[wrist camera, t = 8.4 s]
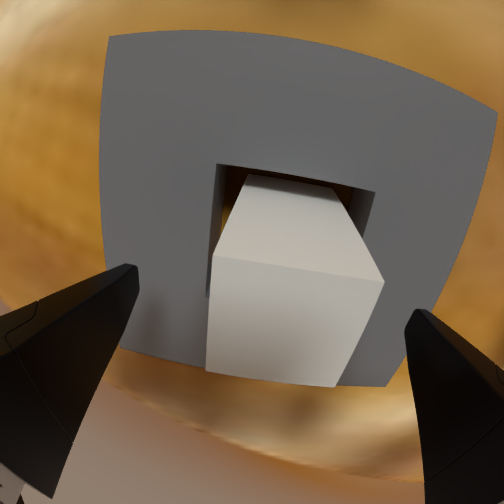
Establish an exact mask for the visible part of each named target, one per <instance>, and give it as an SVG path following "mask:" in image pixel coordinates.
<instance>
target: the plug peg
mask: <svg viewBox="0 0 504 504" xmlns="http://www.w3.org/2000/svg"><path fill="white" fill-rule="evenodd" d="M384 283H385V281H384V279H383V277H382V276H381V274H380V272H379V270H378V268H377V266H376V264H375V262H374V260H373V258H372V256H371V254H370V253H369V251H368V249H367V247H366V245H365V243H364V241H363V240H362V238H361V236H360V234H359V232H358V231H357V229H356V227H355V225H354V224H353V222H352V220H351V218H350V217H349V215H348V213H347V212H346V210H345V208H344V206H343V205H342V203H341V201H340V200H339V198H338V196H337V195H336V193H335V192H334V190H333V188H328V187H323V186H318V185H312V184H307V183H302V182H296V181H290V180H285V179H279V178H273V177H266V176H260V175H253V174H248V176H247V178H246V180H245V182H244V185H243V187H242V189H241V191H240V194H239V196H238V198H237V200H236V203H235V205H234V207H233V209H232V212H231V214H230V216H229V218H228V221H227V223H226V225H225V227H224V230H223V232H222V234H221V237H220V239H219V241H218V244H217V246H216V248H215V251H214V253H213V257H212V270H211V283H210V298H209V313H208V329H207V347H206V368H205V371H208V372H214V373H219V374H225V375H231V376H237V377H243V378H249V379H256V380H264V381H271V382H280V383H288V384H298V385H309V386H321V387H335V386H336V384H337V382H338V380H339V378H340V376H341V375H342V373H343V371H344V369H345V367H346V365H347V363H348V361H349V359H350V357H351V355H352V353H353V351H354V349H355V347H356V345H357V343H358V341H359V339H360V337H361V335H362V333H363V331H364V329H365V327H366V324H367V322H368V320H369V318H370V316H371V313H372V311H373V309H374V307H375V304H376V302H377V300H378V297H379V295H380V292H381V290H382V288H383V285H384Z"/></svg>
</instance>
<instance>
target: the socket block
mask: <svg viewBox="0 0 504 504" xmlns="http://www.w3.org/2000/svg"><path fill="white" fill-rule="evenodd" d="M497 115H498V112H496V111H494V110H493V109H491V108H489V107H488V106H486V105H484V104H482V103H480V102H479V101H477V100H475V99H473V98H471V97H469V96H467V95H465V94H463V93H461V92H459V91H457V90H455V89H453V88H451V87H449V86H447V85H445V84H443V83H440V82H438V81H436V80H434V79H431V78H429V77H427V76H424V75H422V74H419V73H417V72H414V71H412V70H409V69H406V68H404V67H401V66H398V65H395V64H393V63H390V62H387V61H384V60H381V59H378V58H374V57H371V56H368V55H364V54H361V53H357V52H354V51H350V50H346V49H342V48H338V47H334V46H330V45H325V44H321V43H316V42H311V41H305V40H300V39H294V38H288V37H281V36H274V35H266V34H257V33H247V32H233V31H212V30H177V31H156V32H143V33H133V34H124V35H116V36H109V41H108V47H107V54H106V61H105V69H104V78H103V88H102V100H101V115H100V138H99V181H100V206H101V221H102V233H103V244H104V253H105V262H106V270H110V269H112V268H114V267H117V266H119V265H122V264H124V263H128V264H133V265H136V266H137V267H138V271H139V284H140V291H139V295H138V297H137V300H136V303H135V305H134V308H133V310H132V313H131V315H130V318H129V321H128V323H127V326H126V328H125V331H124V333H123V335H122V337H121V339H120V341H119V344H120V348H123V349H127V350H130V351H134V352H138V353H141V354H145V355H149V356H153V357H157V358H161V359H165V360H169V361H174V362H178V363H183V364H187V365H192V366H197V367H202V368H206V347H207V329H208V313H209V298H210V283H211V270H212V257H213V253H214V251H215V248H216V246H217V244H218V241H219V239H220V232H221V222H222V213H223V203H224V194H225V185H226V176H227V168H228V165H233V166H240V167H247V168H254V169H261V170H267V171H273V172H279V173H285V174H291V175H296V176H302V177H307V178H312V179H318V180H323V181H328V182H333V183H337V184H342V185H347V186H351V187H354V189H353V193H352V197H351V201H350V205H349V209H348V215H349V217H350V218H351V220H352V222H353V224H354V225H355V227H356V229H357V231H358V232H359V234H360V236H361V238H362V240H363V241H364V243H365V245H366V247H367V249H368V251H369V253H370V254H371V256H372V258H373V260H374V262H375V264H376V266H377V268H378V270H379V272H380V274H381V276H382V277H383V279H384V281H385V283H384V285H383V288H382V290H381V292H380V295H379V297H378V300H377V302H376V304H375V307H374V309H373V311H372V313H371V316H370V318H369V320H368V322H367V324H366V327H365V329H364V331H363V333H362V335H361V337H360V339H359V341H358V343H357V345H356V347H355V349H354V351H353V353H352V355H351V357H350V359H349V361H348V363H347V365H346V367H345V369H344V371H343V373H342V375H341V376H340V378H339V380H338V382H337V384H336V385H344V386H370V387H386V385H387V384H388V382H389V381H390V379H391V378H392V376H393V375H394V373H395V372H396V370H397V369H398V367H399V366H400V364H401V363H402V361H403V359H404V358H405V356H406V355H407V353H406V345H405V337H404V329H405V326H406V324H407V323H408V321H409V319H410V317H411V315H412V313H413V311H414V310H415V309H417V308H419V309H426V310H428V311H429V312H430V313H431V311H432V309H433V307H434V305H435V303H436V301H437V299H438V297H439V295H440V293H441V291H442V289H443V287H444V285H445V283H446V281H447V278H448V276H449V274H450V272H451V269H452V267H453V265H454V263H455V260H456V258H457V255H458V253H459V251H460V248H461V246H462V243H463V240H464V238H465V235H466V233H467V230H468V227H469V224H470V222H471V219H472V216H473V213H474V210H475V207H476V204H477V200H478V197H479V194H480V191H481V187H482V184H483V180H484V176H485V173H486V169H487V165H488V161H489V156H490V152H491V147H492V143H493V138H494V133H495V127H496V121H497Z"/></svg>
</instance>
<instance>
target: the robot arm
mask: <svg viewBox="0 0 504 504" xmlns="http://www.w3.org/2000/svg"><path fill="white" fill-rule="evenodd" d="M139 291H140V284H139V271H138V267H137V266H136V265H133V264H128V263H124V264H122V265H119V266H117V267H114V268H112V269H110V270H107V271H105V272H102V273H100V274H98V275H95V276H93V277H90V278H88V279H86V280H83V281H81V282H79V283H76V284H74V285H72V286H69V287H67V288H65V289H62V290H60V291H58V292H56V293H53V294H51V295H49V296H46V297H44V298H42V299H40V300H39V301H35V302H33V303H31V304H29V305H26V306H24V307H22V308H19V309H17V310H15V311H12V312H10V313H7V314H4V315H2V316H0V504H24V502H23V499H22V496H21V494H20V493H21V491H22V489H23V486H24V484H25V483H26V484H27V485H29V486H30V487H32V488H33V489H35V490H37V491H38V492H40V493H42V494H44V495H45V496H47V497H49V498H51V499H52V498H53V495H54V493H55V490H56V487H57V484H58V481H59V479H60V476H61V473H62V470H63V467H64V465H65V462H66V460H67V457H68V455H69V452H70V450H71V447H72V445H73V443H72V442H74V439H75V437H76V434H77V432H78V430H79V427H80V425H81V422H82V420H83V418H84V416H85V413H86V411H87V408H88V406H89V404H90V402H91V400H92V397H93V395H94V393H95V391H96V389H97V387H98V384H99V382H100V380H101V378H102V376H103V374H104V372H105V370H106V368H107V366H108V363H109V361H110V359H111V357H112V355H113V353H114V351H115V349H116V347H117V345H118V343H119V341H120V339H121V337H122V335H123V333H124V331H125V328H126V326H127V323H128V321H129V318H130V315H131V313H132V310H133V308H134V305H135V303H136V300H137V297H138V295H139ZM404 337H405V345H406V353H407V361H408V370H409V376H410V381H411V386H412V391H413V397H414V402H415V408H416V414H417V421H418V428H419V435H420V443H421V452H422V461H423V473H424V481H425V482H424V489H425V504H504V371H503V370H502V369H501V368H500V367H499V366H497V365H495V363H494V362H492V361H491V360H490V359H489V358H488V357H486V356H485V355H484V354H483V353H482V352H480V351H479V350H478V349H477V348H475V347H474V346H473V345H472V344H470V343H469V342H468V341H467V340H465V339H464V338H463V337H462V336H460V335H459V334H458V333H457V332H455V331H454V330H453V329H451V328H450V327H449V326H448V325H446V324H445V323H444V322H442V321H441V320H440V319H438V318H437V317H436V316H434V315H433V314H432V313H430V312H429V311H428V310H426V309H419V308H417V309H415V310H414V311H413V313H412V315H411V317H410V319H409V321H408V323H407V324H406V326H405V329H404Z"/></svg>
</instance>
